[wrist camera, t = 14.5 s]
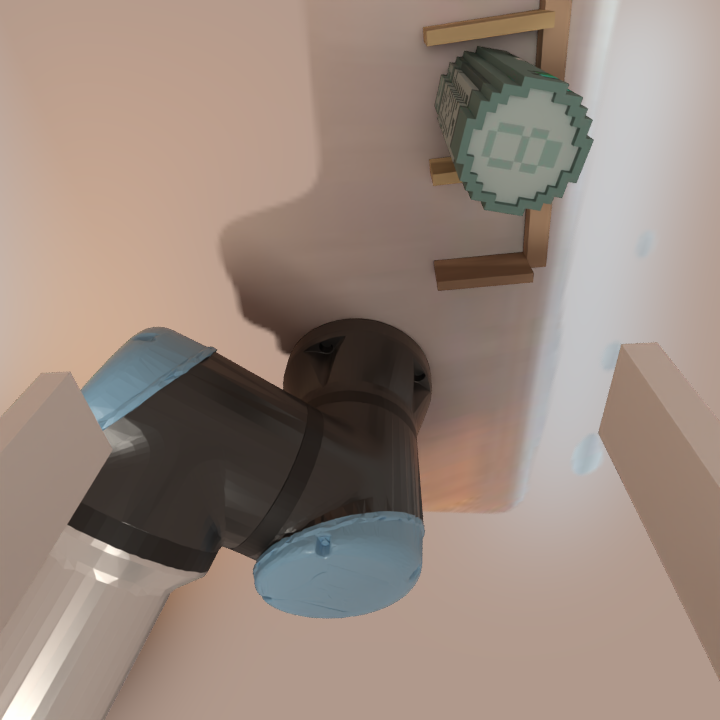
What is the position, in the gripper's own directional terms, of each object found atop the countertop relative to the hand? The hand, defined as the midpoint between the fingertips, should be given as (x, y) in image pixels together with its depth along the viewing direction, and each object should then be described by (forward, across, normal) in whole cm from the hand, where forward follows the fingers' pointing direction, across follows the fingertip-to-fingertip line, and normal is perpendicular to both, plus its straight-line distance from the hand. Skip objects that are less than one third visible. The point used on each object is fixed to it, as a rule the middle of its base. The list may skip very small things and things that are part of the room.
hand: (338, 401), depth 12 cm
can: (+31, -8, -2) cm, 32 cm away
